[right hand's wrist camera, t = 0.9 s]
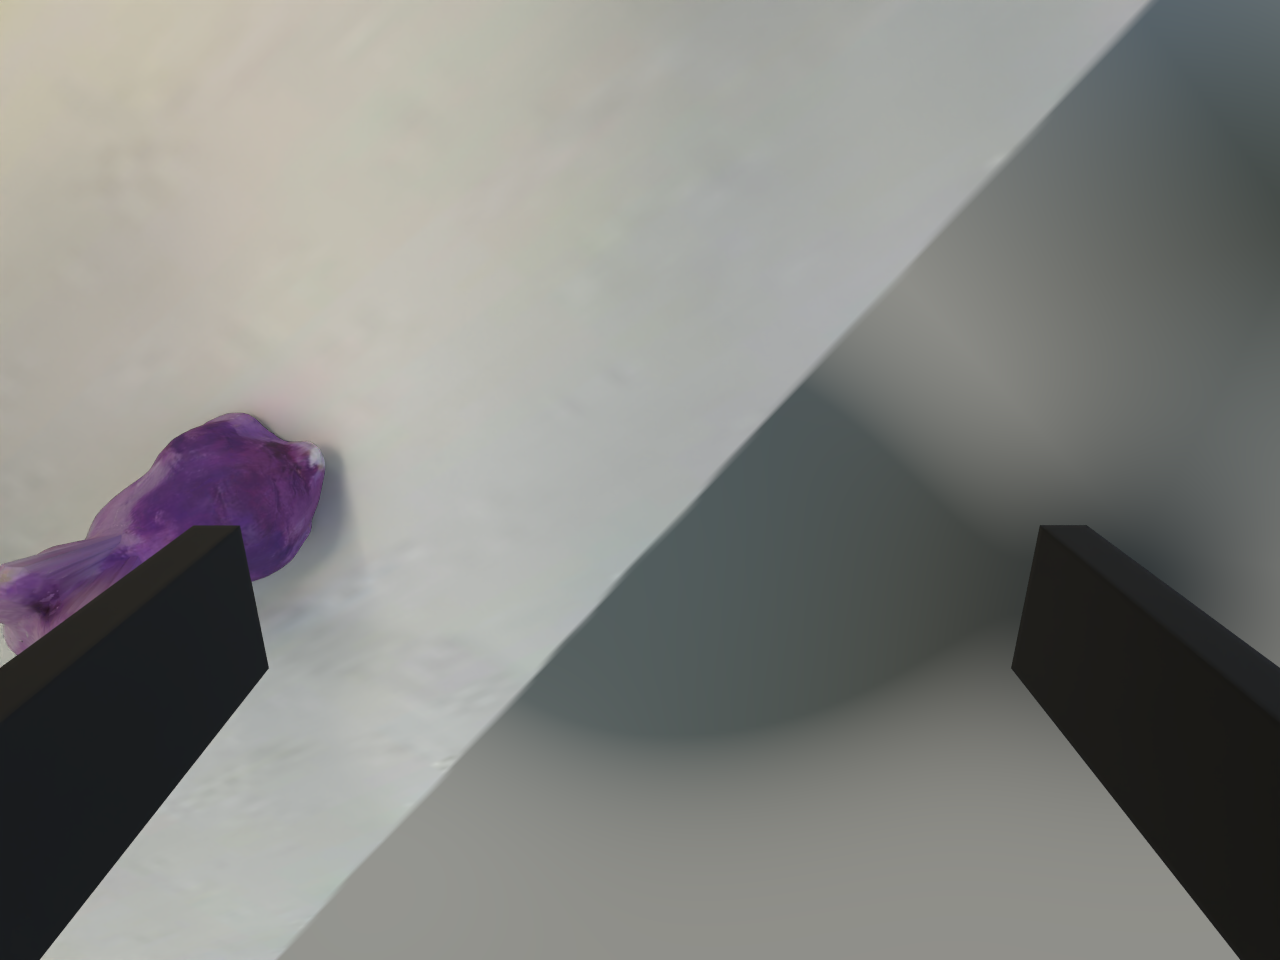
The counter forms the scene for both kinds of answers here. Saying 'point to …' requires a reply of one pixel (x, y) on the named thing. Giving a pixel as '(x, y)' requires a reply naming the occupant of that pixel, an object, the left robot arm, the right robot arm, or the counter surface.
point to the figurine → (174, 520)
